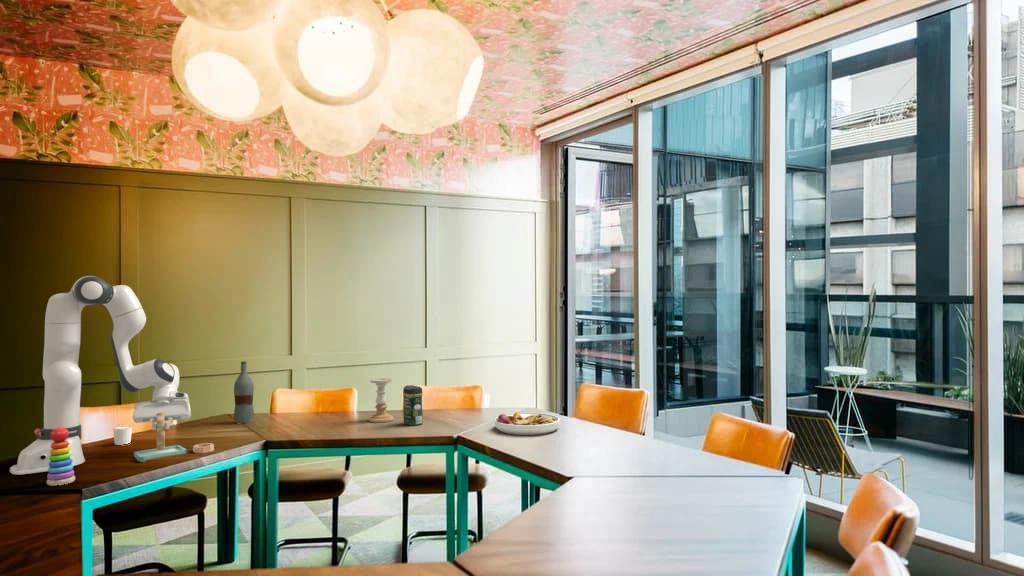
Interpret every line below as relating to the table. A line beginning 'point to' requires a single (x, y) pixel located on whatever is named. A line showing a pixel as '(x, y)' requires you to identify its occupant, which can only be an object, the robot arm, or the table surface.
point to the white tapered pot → (122, 435)
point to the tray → (159, 453)
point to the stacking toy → (60, 459)
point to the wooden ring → (203, 448)
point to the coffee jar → (412, 405)
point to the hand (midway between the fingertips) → (160, 428)
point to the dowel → (160, 431)
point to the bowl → (527, 423)
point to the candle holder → (381, 402)
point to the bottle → (243, 397)
